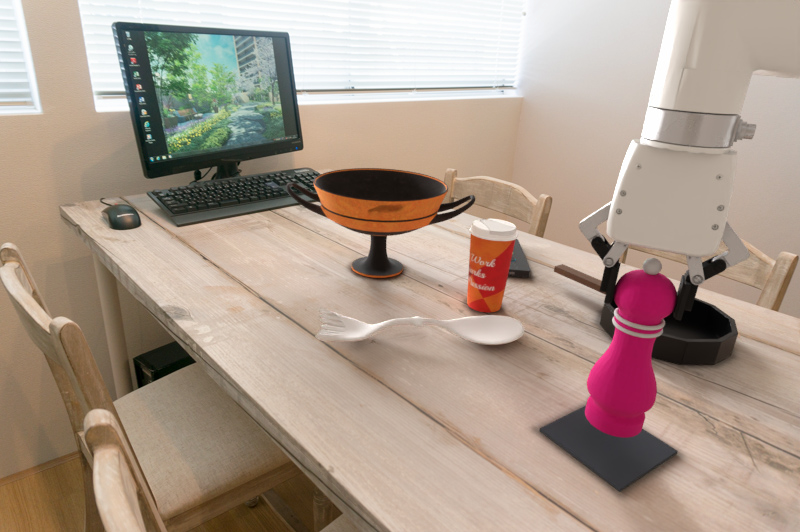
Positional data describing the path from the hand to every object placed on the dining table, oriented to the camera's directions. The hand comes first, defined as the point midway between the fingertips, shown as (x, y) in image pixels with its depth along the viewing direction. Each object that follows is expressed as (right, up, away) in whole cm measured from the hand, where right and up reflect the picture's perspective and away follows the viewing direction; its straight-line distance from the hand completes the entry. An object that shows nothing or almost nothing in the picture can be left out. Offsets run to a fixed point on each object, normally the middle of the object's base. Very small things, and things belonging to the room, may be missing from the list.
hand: (642, 305), depth 55 cm
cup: (-30, +3, +52) cm, 60 cm away
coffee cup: (-10, -3, +39) cm, 40 cm away
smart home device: (-2, +5, +61) cm, 61 cm away
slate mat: (-1, -17, +7) cm, 18 cm away
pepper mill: (-1, -14, +6) cm, 15 cm away
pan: (+15, -5, +38) cm, 41 cm away
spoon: (-22, -7, +27) cm, 35 cm away
